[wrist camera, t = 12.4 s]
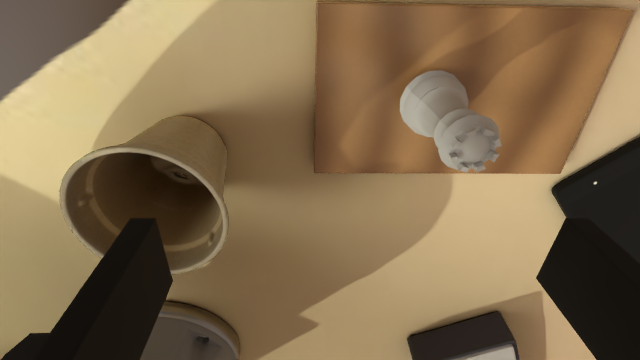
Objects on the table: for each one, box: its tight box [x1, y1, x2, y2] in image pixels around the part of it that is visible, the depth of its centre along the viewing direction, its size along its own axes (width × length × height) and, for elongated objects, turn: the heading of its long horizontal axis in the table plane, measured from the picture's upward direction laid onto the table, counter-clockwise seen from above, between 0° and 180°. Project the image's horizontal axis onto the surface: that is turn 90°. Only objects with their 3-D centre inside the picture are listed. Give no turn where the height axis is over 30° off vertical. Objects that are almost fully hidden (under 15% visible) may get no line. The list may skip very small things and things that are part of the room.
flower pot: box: [60, 116, 229, 274], centre depth 24 cm, size 9×9×9 cm
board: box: [314, 1, 633, 174], centre depth 25 cm, size 20×12×2 cm, turn 89°
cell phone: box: [552, 137, 640, 263], centre depth 32 cm, size 9×18×1 cm, turn 40°
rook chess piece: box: [400, 70, 502, 173], centre depth 21 cm, size 4×4×8 cm
